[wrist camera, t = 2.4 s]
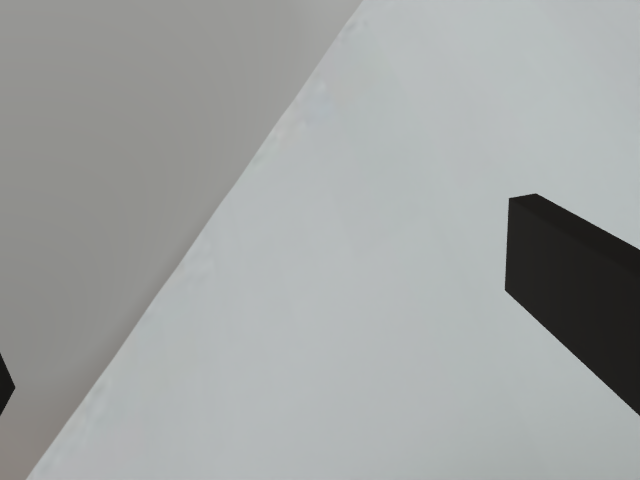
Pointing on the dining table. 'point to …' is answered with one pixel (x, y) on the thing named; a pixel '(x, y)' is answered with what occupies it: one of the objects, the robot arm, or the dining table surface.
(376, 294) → the dining table surface
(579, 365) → the dining table surface
